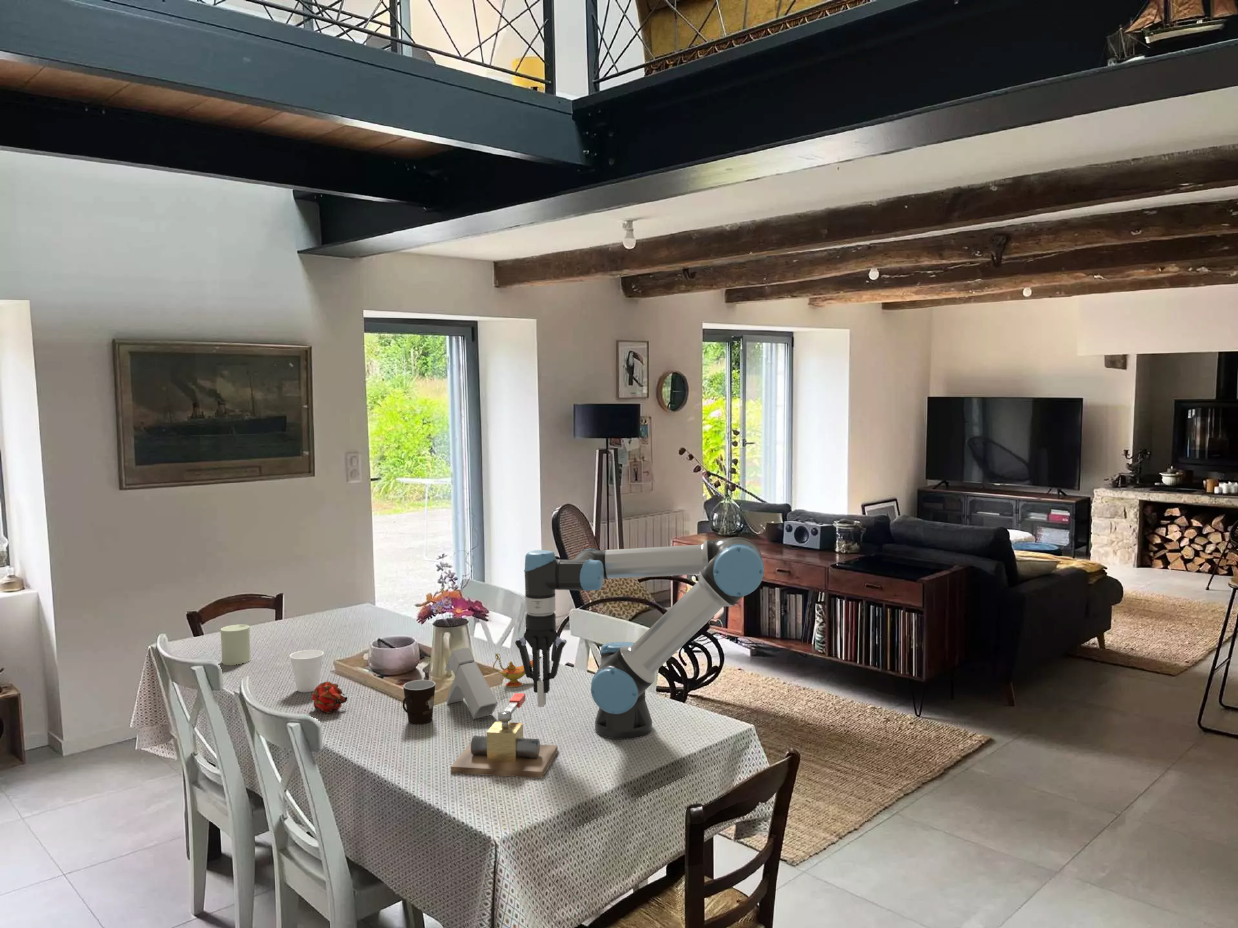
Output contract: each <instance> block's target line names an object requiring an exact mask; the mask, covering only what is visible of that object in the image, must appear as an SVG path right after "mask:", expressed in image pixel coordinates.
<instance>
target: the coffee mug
mask: <svg viewBox="0 0 1238 928" xmlns="http://www.w3.org/2000/svg"><path fill="white" fill-rule="evenodd" d="M436 685H437V684H436V682H435V681H433V680H430V679H417V680H416V679H415V680H411V681H408V682H405V683H404V684H403V685H402V687H403V695H404V698H403V700H402V709H403V711H404V712H405V713H407V721H408V723H409V724H410V725H414V726H415V725H417V726H420V725H426V724H429V723H431V722H432V721H433V715H434V703H435V692H436Z"/></svg>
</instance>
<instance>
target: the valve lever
mask: <svg viewBox="0 0 1238 928" xmlns="http://www.w3.org/2000/svg"><path fill="white" fill-rule="evenodd" d="M525 702H526V693H522V692H521V693H520V692H519V693H517V692H515V693H514V694H513V696H511V698H510V699H509V704H508V705H507V706H506V707H505V708H504V710H500V711H498V712H497V720H498V722H507V721H508V722H510V721H512V719H513V718H512V715H513V713H514V712H515V711H516V709H520V708H521V707H522V705H524V703H525Z"/></svg>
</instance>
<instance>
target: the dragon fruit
mask: <svg viewBox="0 0 1238 928" xmlns="http://www.w3.org/2000/svg"><path fill="white" fill-rule="evenodd" d="M310 700H311V701H313V707H314V709H315V711H318V710H321V711H322V712H324V713H325V714H333V712H332V710H336V709H337V710H340V708H341V707H342V704H344V703H346V702H347V701H348V696H345V694H344V693H343V691H342V689H341V688H339V684H338V683H333V682H330V681H324V682H322V683H319V685H318V686H317V687H316V688H315V690H314V691H313V692H312V694H311V698H310Z"/></svg>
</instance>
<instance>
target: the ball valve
mask: <svg viewBox="0 0 1238 928" xmlns="http://www.w3.org/2000/svg"><path fill="white" fill-rule="evenodd" d="M470 743H471V754H472V755H487V761H502V762H516V761H517V760H518V758H519V757H524V758H538V756H539V751H540V745H541V742H540V739H539V738H524V722H510V721H507V722H501V721H494V722H493V723H492V725H491V726H490V727H489V729H488V730H487V731H486V736H484V735H473V736H472V738H471V741H470Z"/></svg>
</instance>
